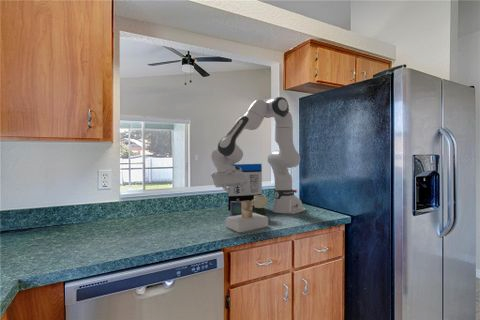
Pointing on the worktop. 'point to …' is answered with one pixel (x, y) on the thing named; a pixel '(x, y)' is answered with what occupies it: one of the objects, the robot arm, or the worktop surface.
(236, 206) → the flask
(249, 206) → the maple block
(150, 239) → the worktop surface
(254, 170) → the protein powder
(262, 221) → the grey box
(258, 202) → the character mug
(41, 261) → the worktop surface
